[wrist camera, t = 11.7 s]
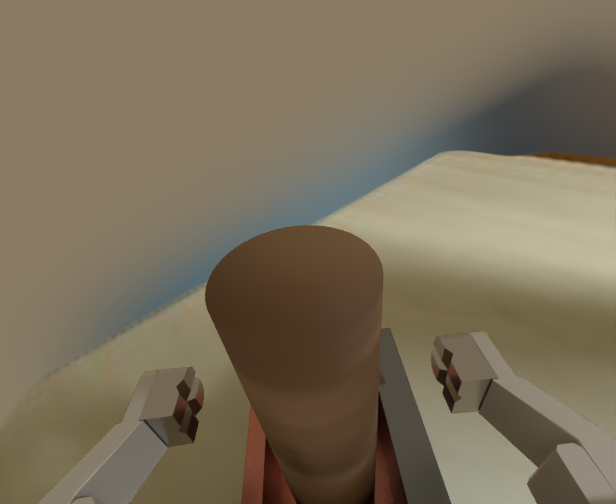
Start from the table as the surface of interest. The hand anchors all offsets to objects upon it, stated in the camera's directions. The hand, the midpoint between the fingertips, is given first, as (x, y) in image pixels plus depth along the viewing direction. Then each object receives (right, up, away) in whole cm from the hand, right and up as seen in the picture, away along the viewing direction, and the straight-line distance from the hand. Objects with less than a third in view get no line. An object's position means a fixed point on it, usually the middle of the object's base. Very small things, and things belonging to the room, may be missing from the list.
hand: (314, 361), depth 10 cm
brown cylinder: (+1, -8, +5) cm, 9 cm away
